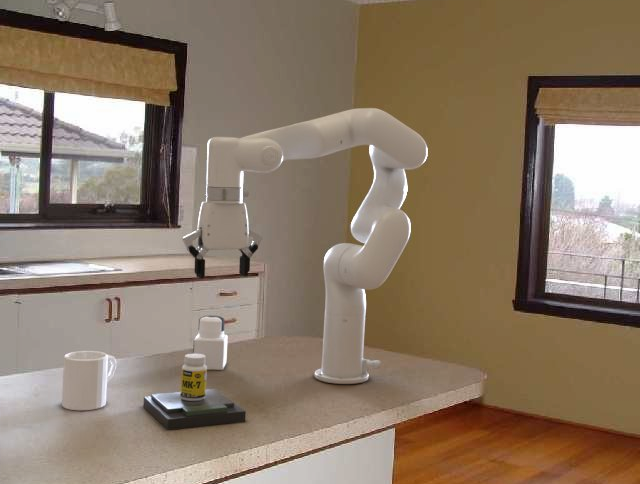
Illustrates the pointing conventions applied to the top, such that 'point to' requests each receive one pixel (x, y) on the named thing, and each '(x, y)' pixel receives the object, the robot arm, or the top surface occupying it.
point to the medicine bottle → (212, 341)
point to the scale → (195, 415)
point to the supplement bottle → (193, 377)
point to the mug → (86, 379)
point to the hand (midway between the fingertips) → (222, 276)
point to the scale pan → (176, 404)
